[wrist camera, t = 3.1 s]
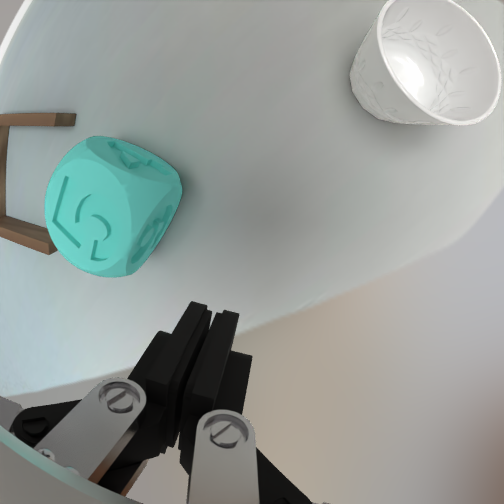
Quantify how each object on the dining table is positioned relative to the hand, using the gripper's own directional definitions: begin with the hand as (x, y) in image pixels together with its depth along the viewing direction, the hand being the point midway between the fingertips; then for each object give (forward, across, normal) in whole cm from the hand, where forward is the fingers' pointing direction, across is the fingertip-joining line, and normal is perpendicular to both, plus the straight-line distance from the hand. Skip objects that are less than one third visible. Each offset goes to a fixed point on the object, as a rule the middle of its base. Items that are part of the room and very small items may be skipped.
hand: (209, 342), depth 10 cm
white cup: (+16, -8, -14) cm, 23 cm away
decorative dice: (+16, +11, 0) cm, 19 cm away
